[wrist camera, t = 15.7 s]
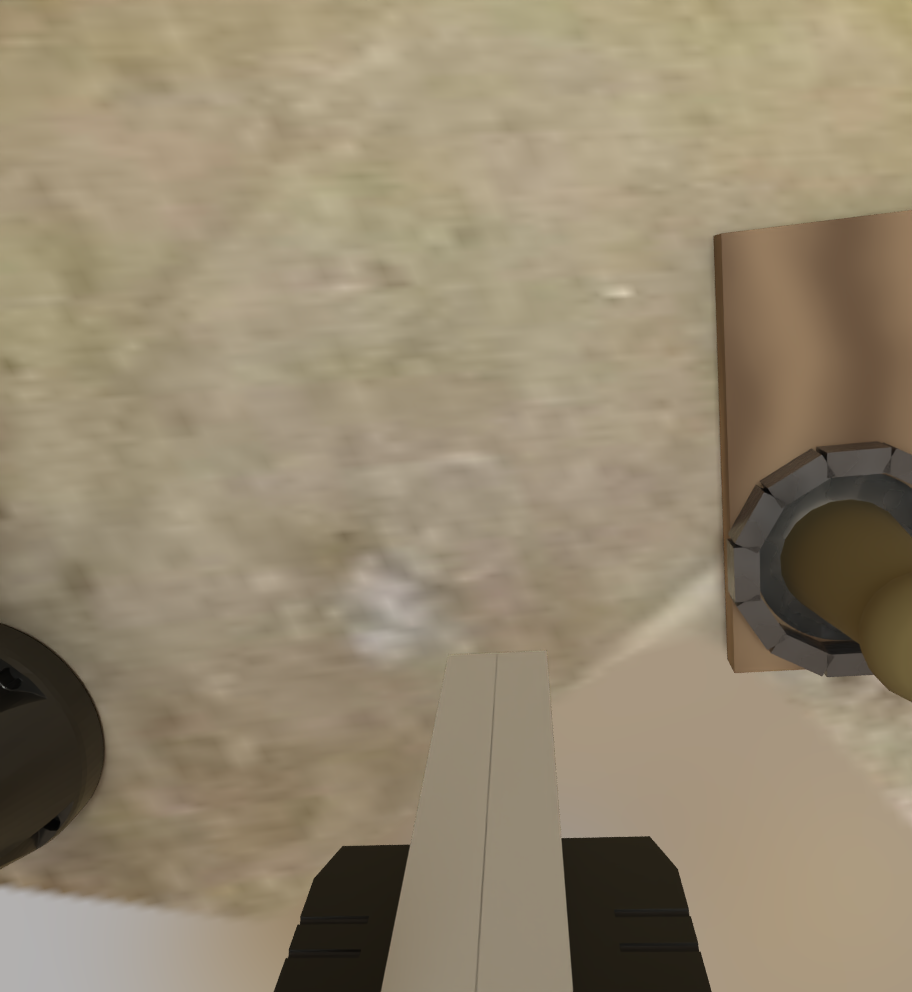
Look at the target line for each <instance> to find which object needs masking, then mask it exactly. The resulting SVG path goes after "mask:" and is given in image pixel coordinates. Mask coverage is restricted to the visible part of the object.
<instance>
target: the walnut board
mask: <svg viewBox="0 0 912 992" xmlns="http://www.w3.org/2000/svg"><path fill="white" fill-rule="evenodd" d="M714 258H715V289H716V320H717V351H718V382H719V413H720V443H721V474H722V505H723V536H724V567H725V597H726V628H727V659H728V661H729V663H730V665H731V667H732V669H733V671H734V673H745V672H764V671H782V670H801V669H805V668H803V667H800V666H798V665H796V664H794V663H791V662H789V661H787V660H785V659H782V658H780V657H778V656H776V655H774V654H771V653H770V651H769V650H767V649H766V648H765V646H764V645H763V644H762V642H761V641H760V639H759V638H758V636H757V635H756V634H755V632H754V631H753V629H752V628H751V626H750V625H749V624H748V622H747V621H746V619H745V618H744V616H743V615H742V614H741V612H740V611H739V609H738V608H737V606H736V605H735V603H734V602H733V600H732V598H731V597H730V593H729V592H728V572H727V541H726V539H730V537H729V535H728V533H729V531H730V529H731V527H732V525H733V524H734V522H735V520H736V518H737V517H738V515H739V513H740V511H741V510H742V508H743V506H744V504H745V503H746V501H747V499H748V497H749V496H750V494H751V492H752V490H753V488H754V487H755V485H757V486H760V487H762V488H764V487H763V486H762V484H761V483H760V480H762V479H763V478H765V477H766V476H768V475H770V474H771V473H773V472H774V471H776V470H778V469H779V468H781V467H782V466H784V465H785V464H787V463H789V462H790V461H792V460H793V459H795V458H797V457H798V456H800V455H801V454H803V453H805V452H806V451H808V450H809V449H813V450H815V451H816V447H818V446H830V445H841V444H852V443H864V442H875V441H878V442H881V443H883V442H884V443H886V444H888V445H891V446H893V447H895V448H898V449H900V450H902V451H904V452H907V453H909V454H911V455H912V210H909V211H901V212H893V213H885V214H876V215H868V216H860V217H852V218H844V219H836V220H828V221H820V222H811V223H803V224H795V225H787V226H779V227H771V228H763V229H754V230H746V231H738V232H730V233H722V234H719V235H715V236H714ZM882 474H884V475H887V476H890V477H893V478H895V479H897V480H899V481H901V482H903V483H904V484H906V485H908V486H909V487H911V488H912V484H909V483H907V482H905V481H903V480H901V479H898V478H896V477H894V476H892V475H890V474H887V473H882ZM760 595H761V598H762V600H763V601H764V603H765V604H766V606H767V607H768V608H769V610H770V611H771V613H772V614H773V616H774V617H775V619H776V620H777V621H778V623H780V624H782V625H784V626H787V627H789V628H791V629H793V630H796V631H798V630H797V629H795V628H793V627H791V626H790V625H788V624H787V623H785V622H784V621H783V620H782V619H780V618H779V617H778V616H777V615H776V614H775V613H774V612H773V610H772V609H771V608H770V607H769V605H768V604H767V603H766V601H765V599H764V597H763V596H762V594H761V592H760ZM798 632H800V631H798ZM800 633H802V634H805V633H803V632H800ZM805 635H807V636H809V637H811V638H813V639H816V640H818V641H820V642H824V641H842V640H829V639H822V638H818V637H814V636H811V635H808V634H805Z"/></svg>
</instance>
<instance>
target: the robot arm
mask: <svg viewBox="0 0 912 992" xmlns="http://www.w3.org/2000/svg"><path fill="white" fill-rule="evenodd" d="M102 765H103V738H102V732H101V727H100V723H99V720H98V717H97V714H96V711H95V709H94V706H93V704H92V702H91V700H90V698H89V696H88V694H87V693H86V691H85V689H84V688H83V686H82V685H81V683H80V682H79V680H78V679H77V678H76V676H75V675H74V674H73V673H72V671H71V670H70V669H69V668H68V667H67V666H66V665H65V664H64V663H63V662H62V661H61V660H60V659H59V658H58V657H57V656H56V655H55V654H53V653H52V652H51V651H50V650H48V649H47V648H46V647H44V646H43V645H42V644H40V643H39V642H37V641H36V640H34V639H32V638H31V637H29V636H27V635H25V634H23V633H21V632H19V631H17V630H15V629H12V628H10V627H7V626H4V625H1V624H0V869H2V868H3V867H5V866H7V865H9V864H11V863H13V862H14V861H16V860H18V859H20V858H22V857H24V856H25V855H27V854H29V853H31V852H33V851H35V850H36V849H38V848H40V847H42V846H43V845H45V844H46V843H48V842H49V841H51V840H52V839H53V838H54V837H56V836H57V835H58V834H59V833H60V832H61V831H62V830H63V829H64V828H65V827H66V826H67V825H68V824H69V823H70V822H71V821H72V820H73V818H74V817H75V816H76V815H77V814H78V813H79V812H80V811H81V809H82V808H83V807H84V806H85V805H86V803H87V802H88V801H89V799H90V798H91V796H92V795H93V793H94V791H95V789H96V786H97V784H98V781H99V778H100V775H101V770H102ZM300 918H301V921H300V925H297V928H296V931H295V933H294V936H293V939H292V942H291V945H290V948H289V957H288V958H286V959H285V962H284V965H283V967H282V970H281V973H280V976H279V979H278V982H277V984H276V987H275V990H274V992H711V988H710V984H709V981H708V977H707V974H706V970H705V966H704V963H703V959H702V955H701V952H699V948H698V941H697V937H696V934H695V930H694V927H693V923H692V919H691V917H690V916H689V909H688V905H687V901H686V898H685V894H684V890H683V887H682V883H681V879H680V876H679V872H678V869H677V868H676V866H675V865H674V864H673V863H672V862H671V861H670V859H669V858H668V857H667V856H666V855H665V854H664V853H663V851H662V850H661V849H660V848H659V847H658V846H657V844H656V843H655V842H654V841H653V840H652V839H651V838H650V836H648V837H646V836H645V837H600V838H561V829H560V816H559V803H558V790H557V776H556V763H555V750H554V737H553V725H552V711H551V698H550V685H549V672H548V659H547V650H543V651H521V652H498V653H476V654H454V655H448V658H447V663H446V668H445V673H444V679H443V684H442V689H441V694H440V699H439V704H438V709H437V714H436V719H435V724H434V729H433V734H432V739H431V744H430V749H429V754H428V759H427V764H426V769H425V774H424V779H423V784H422V789H421V794H420V799H419V804H418V809H417V814H416V819H415V824H414V829H413V834H412V839H411V844H410V845H374V846H342V847H341V849H340V850H339V851H338V852H337V853H336V854H335V855H334V856H333V858H332V859H331V860H330V861H329V862H328V863H327V864H326V865H325V867H324V868H323V869H322V870H321V871H320V872H319V873H318V874H317V876H316V877H315V878H314V880H313V883H312V885H311V888H310V891H309V894H308V897H307V900H306V902H305V905H304V908H303V911H302V914H301V916H300Z"/></svg>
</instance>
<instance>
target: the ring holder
mask: <svg viewBox="0 0 912 992" xmlns="http://www.w3.org/2000/svg"><path fill="white" fill-rule="evenodd" d="M882 473H887V474H890V475H892V476H894V477H896V478H898V479H901V480H903V481H905V482H907V483H909V484H912V455H911V454H909V453H907V452H904V451H902V450H900V449H898V448H895V447H893V446H891V445H888V444H886V443H884V442H883V443H881V442H878V441H875V442H864V443H852V444H841V445H830V446H818V447H816V451H815V450H813V449H809V450H808V451H806V452H805V453H803V454H801V455H800V456H798V457H797V458H795V459H793V460H792V461H790V462H789V463H787V464H785V465H784V466H782V467H781V468H779V469H778V470H776V471H774V472H773V473H771V474H770V475H768V476H766V477H765V478H763V479H762V480H760V483H761V484H762V486H763V487H764V488H762V487H760V486H757V485H755V487H754V488H753V490H752V492H751V494H750V496H749V497H748V499H747V501H746V503H745V504H744V506H743V508H742V510H741V511H740V513H739V515H738V517H737V518H736V520H735V522H734V524H733V525H732V527H731V529H730V531H729V533H728V535H729V537H730V539H726V541H727V572H728V592H729V593H730V597H731V598H732V600H733V602H734V603H735V605H736V606H737V608H738V609H739V611H740V612H741V614H742V615H743V616H744V618H745V619H746V621H747V622H748V624H749V625H750V626H751V628H752V629H753V631H754V632H755V634H756V635H757V636H758V638H759V639H760V641H761V642H762V644H763V645H764V646H765V648H766V649H767V650H769V651H770V653H771V654H774V655H776V656H778V657H780V658H782V659H785V660H787V661H789V662H791V663H794V664H796V665H798V666H800V667H803V668H805V669H807V670H809V671H811V672H814V673H816V674H818V675H820V676H823V674H825V675H826V676H827V677H839V676H859V675H874V674H873V673H872V672H871V670H870V669H869V668H868V665H867V663H866V661H865V658H864V656H863V654H862V651H861V648H860V644H859V643H857V642H856V641H854V640H853V639H851V638H850V637H849V636H847V635H846V634H844V633H843V632H841V631H840V630H838V629H837V628H836V627H834V626H833V625H831V624H830V623H828V622H827V621H826V620H824V619H823V618H821V617H820V616H818V615H817V614H815V613H814V612H813V611H811V610H810V609H808V608H807V607H805V606H804V605H803V604H801V603H800V602H799V601H798V600H797V599H796V598H795V597H794V596H793V595H792V594H791V592H790V591H789V590H788V588H787V586H786V583H785V581H784V579H783V577H782V574H781V560H780V556H781V552H782V549H783V545H784V542H785V539H786V537H787V536H788V534H789V533H790V531H791V530H792V528H793V527H794V525H795V524H796V522H798V521H799V520H800V519H801V518H803V517H804V516H805V515H806V514H807V513H809V512H810V511H811V510H813V509H815V508H817V507H820V506H822V505H824V504H827V503H829V502H833V501H841V500H849V499H852V500H858V501H864V502H870V503H873V504H875V505H877V506H878V507H880V508H882V509H884V510H886V511H888V512H889V513H890V514H891V515H892V516H893V517H894V518H895V519H896V521H897V522H898V523H899V524H900V525H901V526H902V527H903V528H904V529H905V530H906V531H907V532H908V534H909V535H910V536H911V537H912V488H911V487H909V486H908V485H906V484H904V483H903V482H901V481H899V480H897V479H895V478H893V477H890V476H887V475H884V474H882ZM760 592H761V594H762V596H763V597H764V599H765V601H766V603H767V604H768V605H769V607H770V608H771V609H772V610H773V612H774V613H775V614H776V615H777V616H778V617H779V618H780V619H782V620H783V621H784V622H785V623H787V624H788V625H790V626H791V627H793V628H795V629H797V630H798V631H800V632H803V633H805V634H808V635H811V636H814V637H818V638H822V639H829V640H842V641H824V642H820V641H818V640H816V639H813V638H811V637H809V636H807V635H805V634H802V633H800V632H798V631H796V630H793V629H791V628H789V627H787V626H784V625H782V624H780V623H778V621H777V620H776V619H775V617H774V616H773V614H772V613H771V611H770V610H769V608H768V607H767V606H766V604H765V603H764V601H763V600H762V598H761V595H760Z"/></svg>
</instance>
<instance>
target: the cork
mask: <svg viewBox="0 0 912 992" xmlns="http://www.w3.org/2000/svg"><path fill="white" fill-rule="evenodd" d="M780 560H781V574H782V577H783V579H784V581H785V583H786V586H787V588H788V590H789V591H790V592H791V594H792V595H793V596H794V597H795V598H796V599H797V600H798V601H799V602H800V603H801V604H803V605H804V606H805V607H807V608H808V609H810V610H811V611H813V612H814V613H815V614H817V615H818V616H820V617H821V618H823V619H824V620H826V621H827V622H828V623H830V624H831V625H833V626H834V627H836V628H837V629H838V630H840V631H841V632H843V633H844V634H846V635H847V636H849V637H850V638H851V639H853V640H854V641H856V642H857V643H859V644H860V648H861V651H862V654H863V656H864V658H865V661H866V663H867V665H868V668H869V669H870V670H871V672H872V673H873V674H874V675H875V676H876V677H877V678H878V679H879V681H880V682H881V683H882V684H883V685H884V686H885V687H886V688H887V689H888V690H889V691H891V692H893V693H895V694H897V695H899V696H901V697H903V698H905V699H907V700H909V701H911V702H912V537H911V536H910V535H909V534H908V532H907V531H906V530H905V529H904V528H903V527H902V526H901V525H900V524H899V523H898V522H897V521H896V519H895V518H894V517H893V516H892V515H891V514H890V513H889V512H888V511H886V510H884V509H882V508H880V507H878V506H877V505H875V504H873V503H870V502H864V501H858V500H852V499H849V500H841V501H833V502H829V503H827V504H824V505H822V506H820V507H817V508H815V509H813V510H811V511H810V512H809V513H807V514H806V515H805V516H804V517H803V518H801V519H800V520H799V521H798V522H796V524H795V525H794V527H793V528H792V530H791V531H790V533H789V534H788V536H787V537H786V539H785V542H784V545H783V549H782V552H781V556H780Z"/></svg>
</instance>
